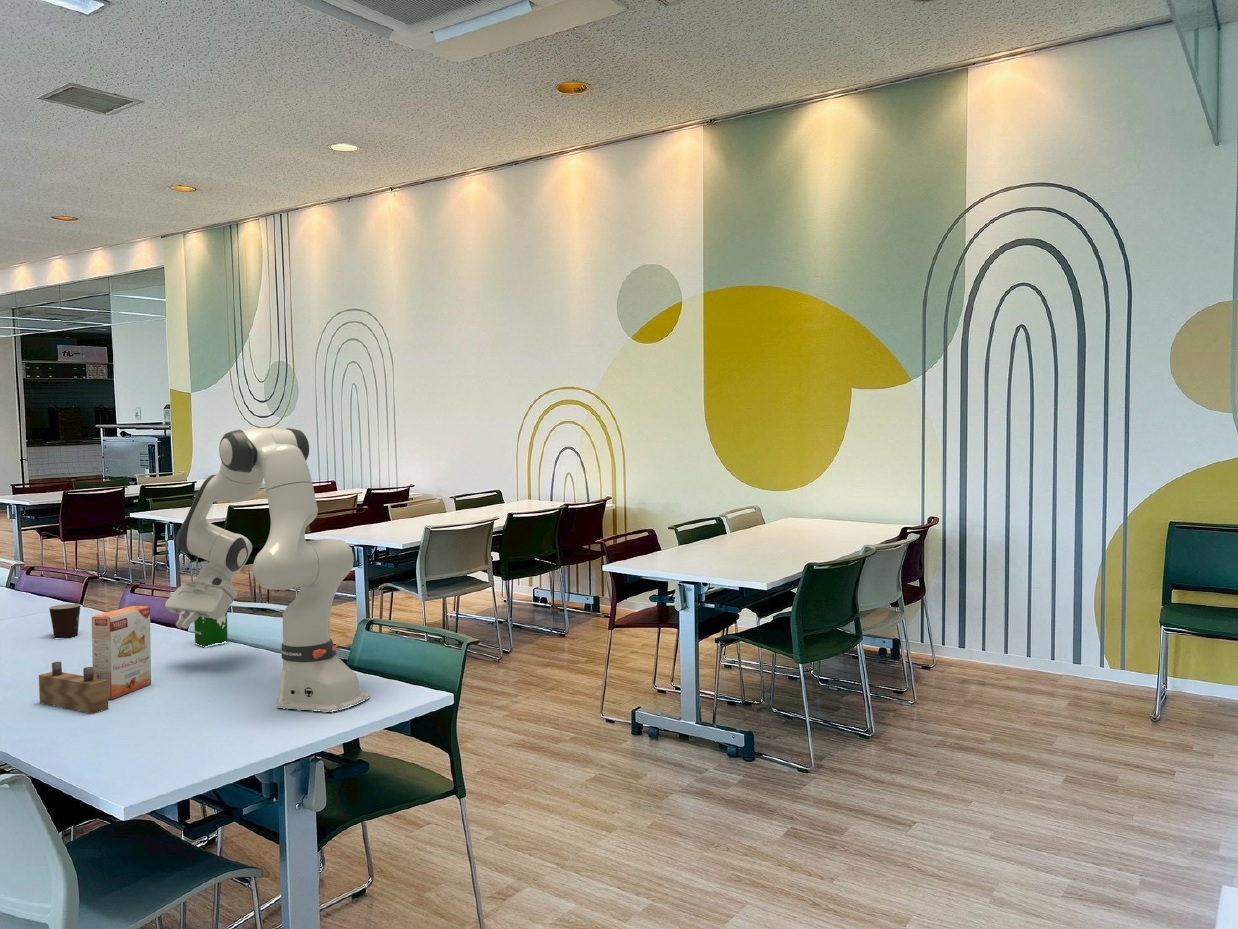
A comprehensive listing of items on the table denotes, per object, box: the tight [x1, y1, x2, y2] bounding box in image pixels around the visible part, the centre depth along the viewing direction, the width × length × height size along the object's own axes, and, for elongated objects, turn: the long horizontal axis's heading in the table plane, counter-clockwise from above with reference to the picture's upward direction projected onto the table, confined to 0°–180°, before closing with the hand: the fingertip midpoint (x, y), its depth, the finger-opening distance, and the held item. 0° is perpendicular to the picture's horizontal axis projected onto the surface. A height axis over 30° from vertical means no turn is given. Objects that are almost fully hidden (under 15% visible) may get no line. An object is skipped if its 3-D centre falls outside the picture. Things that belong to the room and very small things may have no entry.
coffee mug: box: [49, 603, 81, 639], centre depth 291 cm, size 12×9×10 cm
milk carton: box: [193, 610, 229, 648], centre depth 278 cm, size 9×9×20 cm
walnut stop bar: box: [38, 661, 109, 715], centre depth 216 cm, size 20×4×10 cm, turn 64°
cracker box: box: [91, 605, 152, 700], centre depth 227 cm, size 14×6×21 cm, turn 168°
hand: (180, 627), depth 243 cm, fingers closed
